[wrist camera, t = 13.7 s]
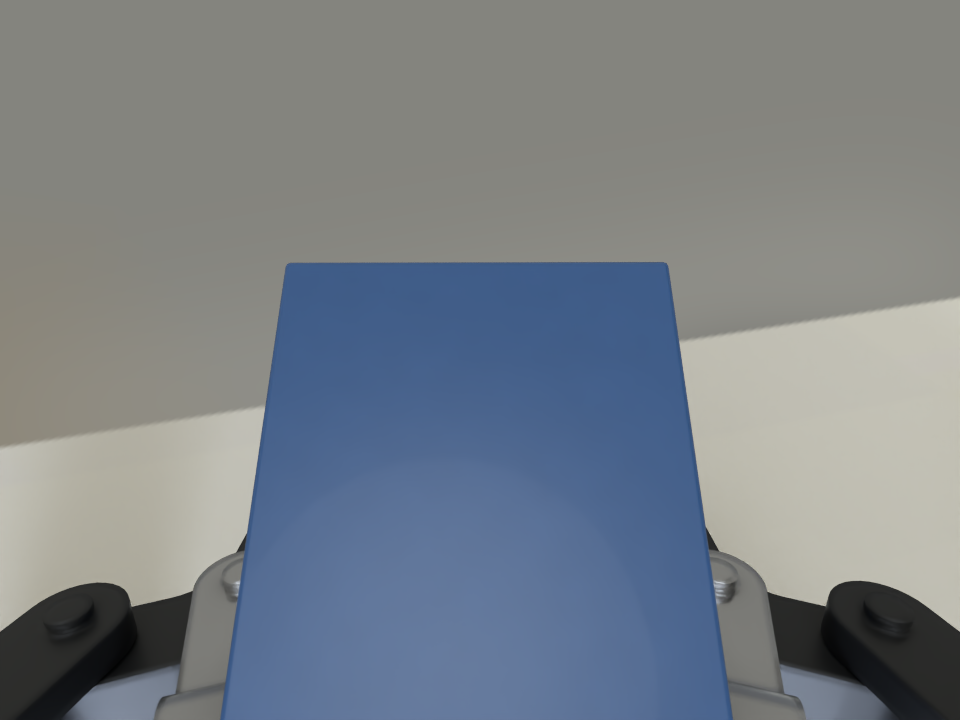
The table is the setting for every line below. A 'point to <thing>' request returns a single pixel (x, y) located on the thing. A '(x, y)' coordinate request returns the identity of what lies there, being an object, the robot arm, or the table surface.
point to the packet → (476, 502)
